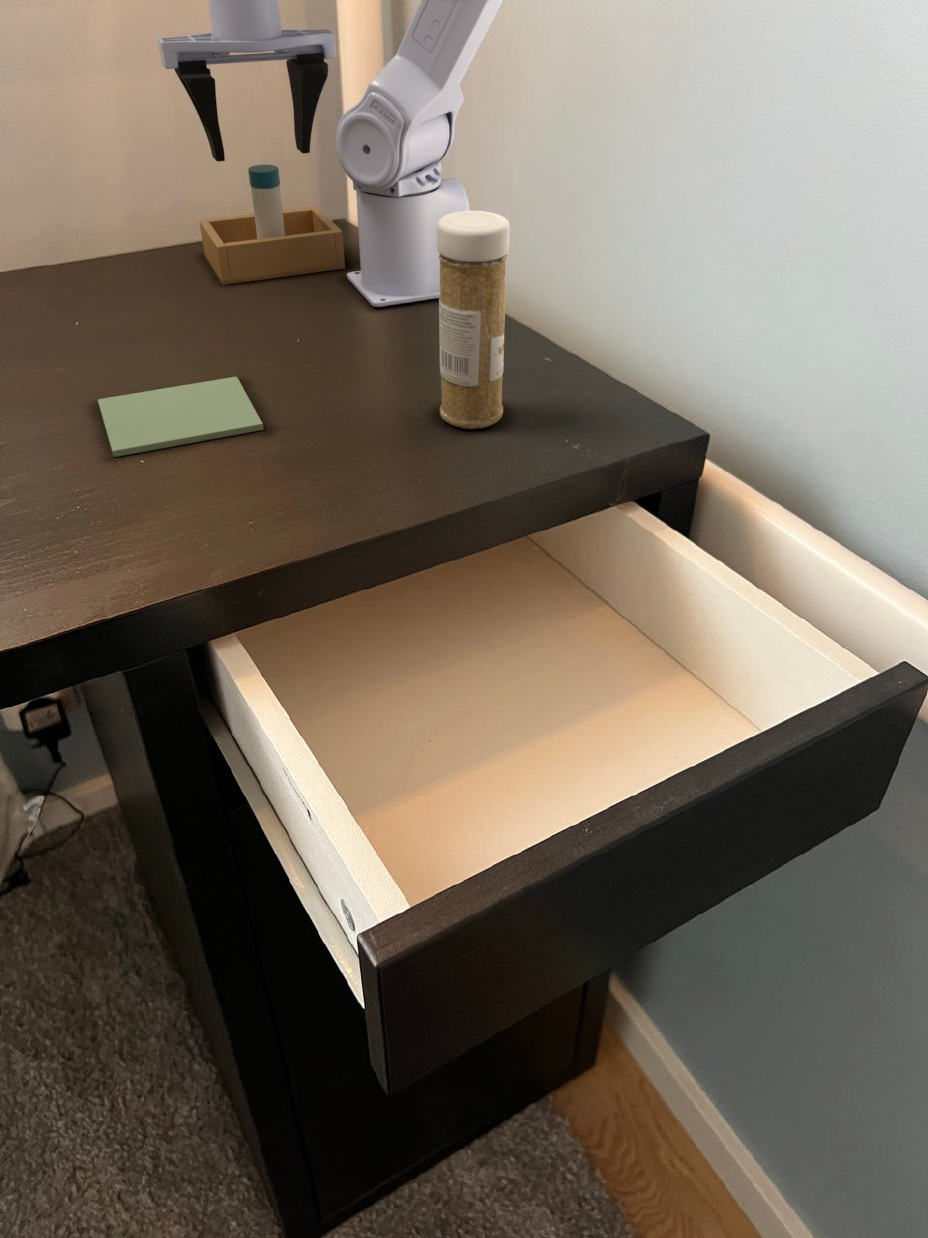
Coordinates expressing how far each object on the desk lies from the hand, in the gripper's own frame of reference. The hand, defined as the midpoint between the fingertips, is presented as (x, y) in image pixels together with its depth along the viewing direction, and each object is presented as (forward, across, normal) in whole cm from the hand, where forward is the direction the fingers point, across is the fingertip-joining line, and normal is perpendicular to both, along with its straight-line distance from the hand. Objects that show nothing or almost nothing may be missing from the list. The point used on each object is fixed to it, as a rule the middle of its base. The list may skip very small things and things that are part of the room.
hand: (261, 154), depth 86 cm
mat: (+10, +14, +28) cm, 33 cm away
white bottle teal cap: (+9, 0, 0) cm, 9 cm away
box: (+10, 0, 0) cm, 10 cm away
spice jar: (+10, -5, +36) cm, 37 cm away
